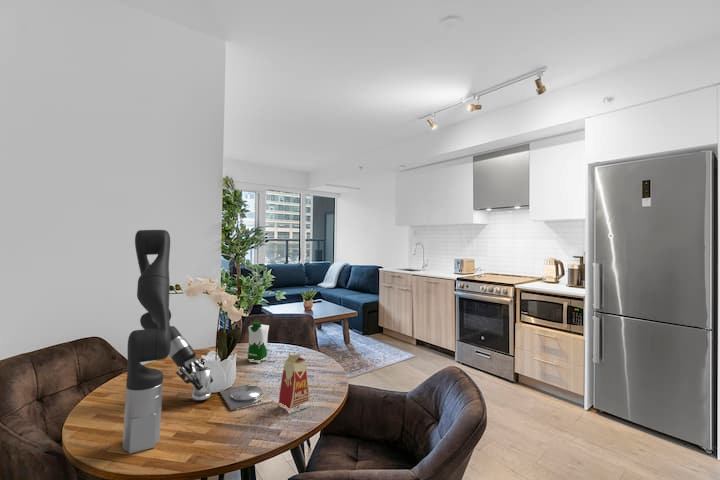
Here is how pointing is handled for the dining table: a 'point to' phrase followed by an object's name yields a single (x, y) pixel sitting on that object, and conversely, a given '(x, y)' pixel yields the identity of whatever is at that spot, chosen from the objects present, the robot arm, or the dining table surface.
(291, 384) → the milk carton
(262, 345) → the soya milk
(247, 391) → the plate on grey tray
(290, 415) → the dining table surface
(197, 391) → the hub
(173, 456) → the dining table surface
